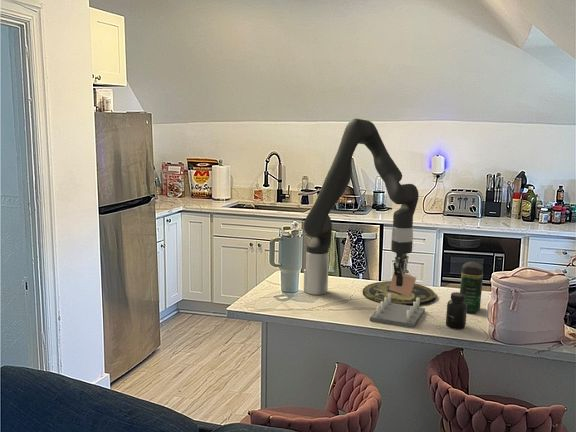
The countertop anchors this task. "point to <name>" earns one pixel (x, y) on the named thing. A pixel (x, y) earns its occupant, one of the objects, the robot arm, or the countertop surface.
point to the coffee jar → (472, 285)
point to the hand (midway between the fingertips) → (400, 284)
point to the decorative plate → (398, 294)
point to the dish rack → (398, 313)
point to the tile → (403, 285)
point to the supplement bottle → (456, 311)
